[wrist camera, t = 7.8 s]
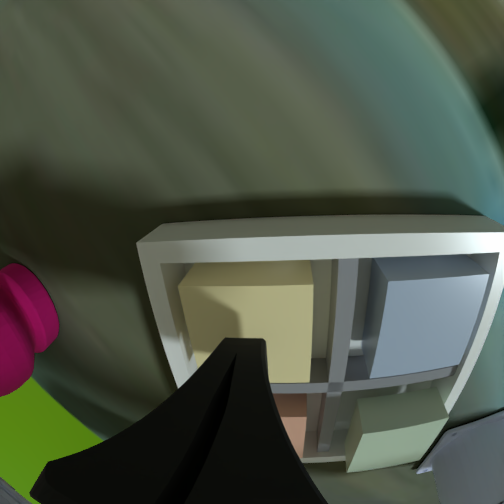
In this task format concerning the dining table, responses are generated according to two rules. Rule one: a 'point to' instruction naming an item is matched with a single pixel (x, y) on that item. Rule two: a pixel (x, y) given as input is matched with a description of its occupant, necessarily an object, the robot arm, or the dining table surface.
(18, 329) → the pepper mill
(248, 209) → the dining table surface
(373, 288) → the slate-blue key
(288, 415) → the terracotta key
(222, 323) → the mustard key
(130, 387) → the dining table surface
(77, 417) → the dining table surface
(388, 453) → the sage key
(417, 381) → the keypad base
